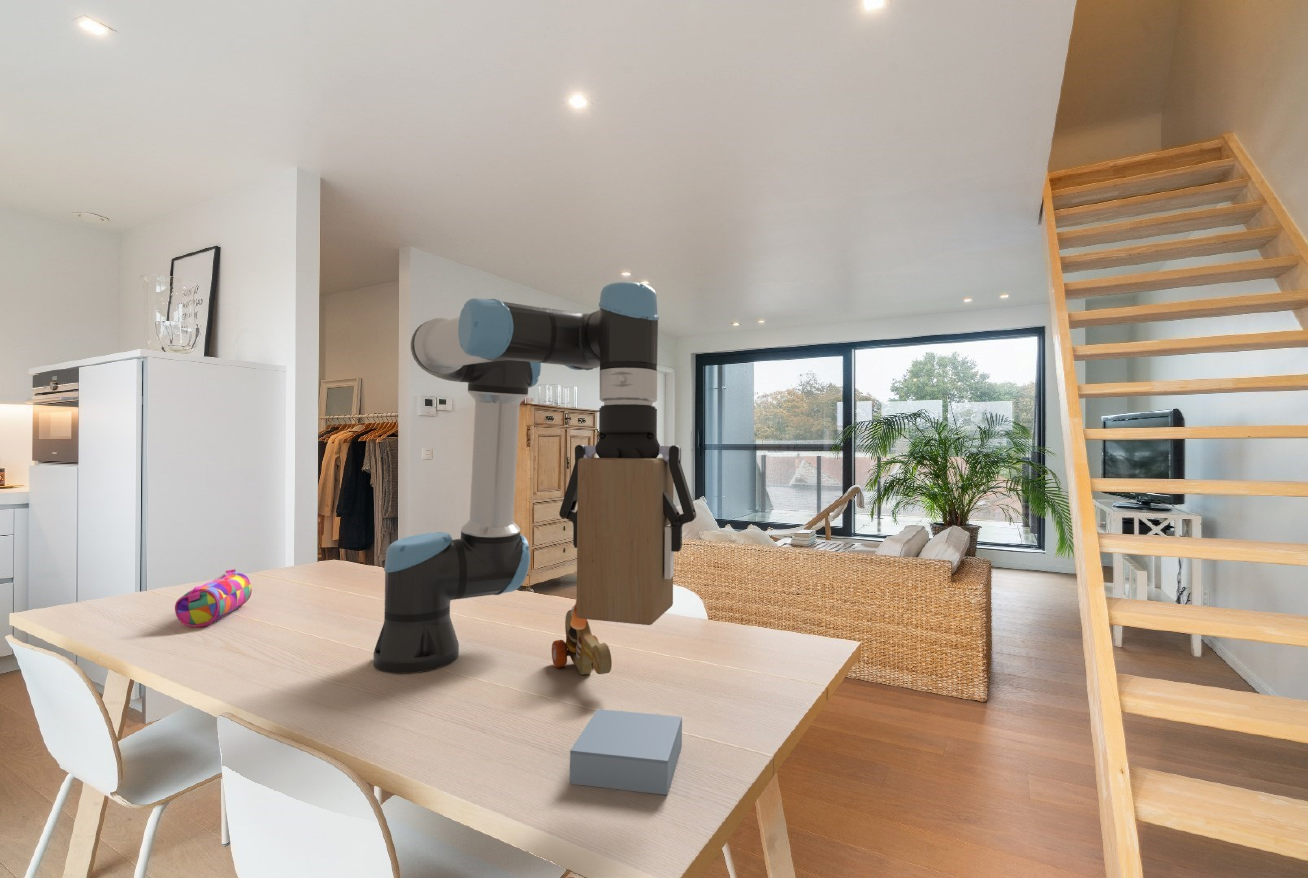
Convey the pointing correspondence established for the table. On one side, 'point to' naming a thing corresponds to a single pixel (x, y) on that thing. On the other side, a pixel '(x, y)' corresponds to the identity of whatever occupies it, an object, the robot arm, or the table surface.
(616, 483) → the wooden block
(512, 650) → the table surface
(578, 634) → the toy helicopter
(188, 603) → the pencil case
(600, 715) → the base brick
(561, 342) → the robot arm
